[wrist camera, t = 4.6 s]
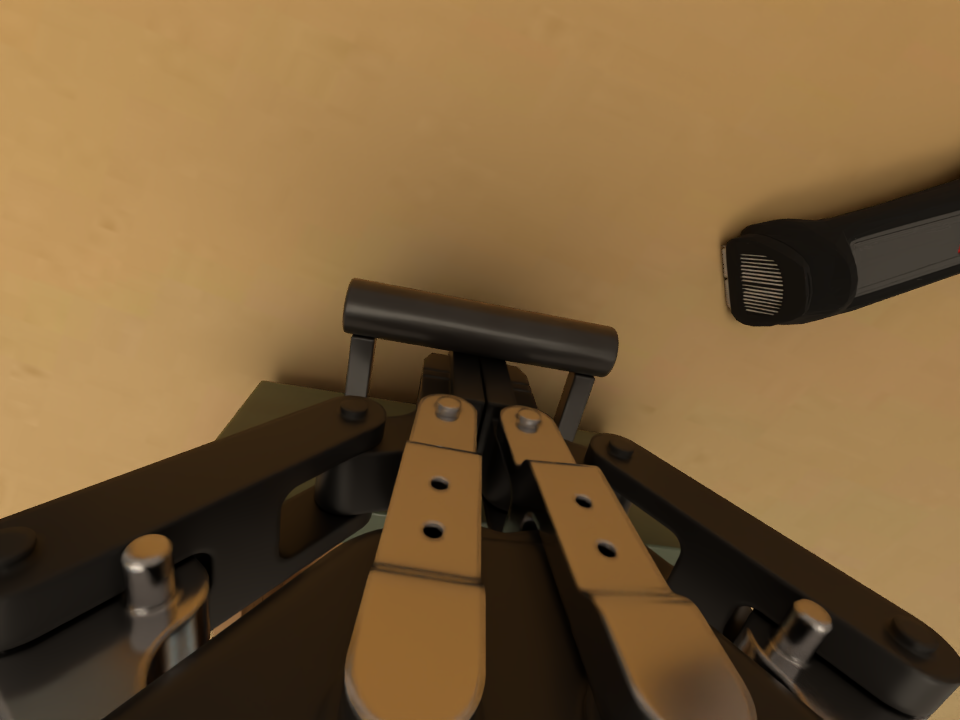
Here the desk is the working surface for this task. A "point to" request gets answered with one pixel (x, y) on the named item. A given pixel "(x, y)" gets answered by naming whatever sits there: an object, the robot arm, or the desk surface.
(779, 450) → the desk surface
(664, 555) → the drawer
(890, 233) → the electric trimmer
